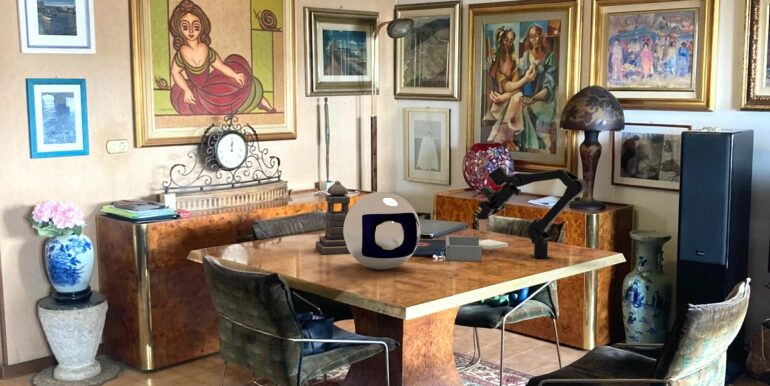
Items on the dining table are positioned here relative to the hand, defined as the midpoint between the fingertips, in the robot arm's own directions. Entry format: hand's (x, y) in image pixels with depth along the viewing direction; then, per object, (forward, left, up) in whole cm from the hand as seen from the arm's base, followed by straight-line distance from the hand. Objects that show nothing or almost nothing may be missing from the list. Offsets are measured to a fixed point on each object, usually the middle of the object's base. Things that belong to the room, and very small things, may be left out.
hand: (479, 218), depth 385 cm
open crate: (-10, +10, -14) cm, 20 cm away
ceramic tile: (+8, -8, -14) cm, 18 cm away
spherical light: (-29, +51, -14) cm, 61 cm away
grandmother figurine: (-1, -1, -7) cm, 7 cm away
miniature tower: (+10, +60, -14) cm, 63 cm away
